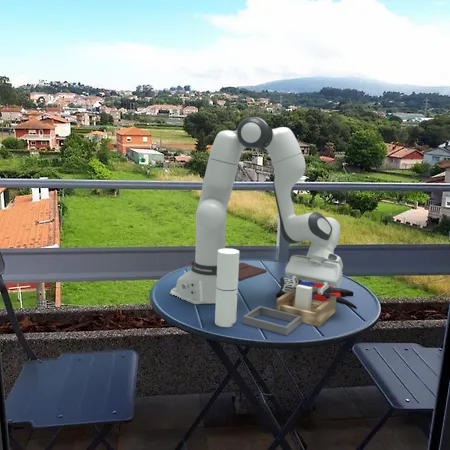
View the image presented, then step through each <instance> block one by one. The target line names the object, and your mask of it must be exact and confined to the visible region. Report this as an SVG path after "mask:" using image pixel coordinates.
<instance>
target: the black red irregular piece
mask: <svg viewBox="0 0 450 450" xmlns="http://www.w3.org/2000/svg"><path fill="white" fill-rule="evenodd" d="M279 282H280V285H281V287H280V289H279V290H278V292H277V293H276V295H275V298H276V299H278V298H279V297H281V296H283V295H284V294H286V293H287V292H289V291H290V290H292V289H293V288H292V285H293V279H292V278H291V277H283V276H282V277H280V281H279ZM296 283H297V284H298V285H304V286H308V287H313V288H312V299H314V300H318V301H322V302H325V301H326V300H328V299H329V298H330V297H331V296H337V297H336V303H339V304H342V305H345V306H348V307H351V308H352V309H355V310H358V309H357V308H358V307H357V305H355V304H354V303H352V302H351V301H349V300H347V299H345V298H346V296H353V297H354V292H353V291H352V290H349V289H345V288H340V287H335V286H330V285H329V287H328V288H327V289H326V290H325V291H324V292H323V295H320V294H318V293H317V291H318V289H319V288H322V287H323V286H324V284H320V283H316V282H311V281H303V280H301V279H298V280H297V281H296Z"/></svg>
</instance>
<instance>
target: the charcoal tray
mask: <svg viewBox="0 0 450 450" xmlns="http://www.w3.org/2000/svg"><path fill="white" fill-rule="evenodd" d="M260 315H263V316H266V317H271V318H274V319H278V320H283V321H286V322H289V323H287V325H283V324H278V323H275V322H270V321H267V320H263V319H259V318H256V317H258V316H260ZM301 321H302V316H298V315H294V314H290V313H286V312H282V311H278V310H276V309H275V308H274V309H273V308H270V307H267V306H262V305H258V306H257V307H256V308H254V309H252V310H251V311H249V312H247V313H246V314H244V315H243V316H242V324H243V325H246V326H250V327H253V328H257V329H260V330H261V329H262V330H264V331H268V332H272V333H276V334H279V335H283V336H288V335H290V334H291V333H292V332H293V331H294V330H295V329H297V328H298V327H299V326H300V325H301V324H302V322H301Z"/></svg>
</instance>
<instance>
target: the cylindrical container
mask: <svg viewBox="0 0 450 450" xmlns="http://www.w3.org/2000/svg"><path fill="white" fill-rule="evenodd" d="M239 263H240V250H238V249H236V248H228V247H225V249H219V250H218V256H217V281H216V303H215V308H214V310H215V311H214V313H215V315H214V324H215V325H216V326H217V327H221V328H230V327H234V326H235V323H236V322H237V312H238V311H237V307H238V290H239V289H238V288H239V281H238V272H239Z"/></svg>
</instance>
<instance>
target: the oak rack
mask: <svg viewBox="0 0 450 450" xmlns="http://www.w3.org/2000/svg"><path fill="white" fill-rule="evenodd" d="M295 297H296V289H292V290H290V291H289V292H287V293H286V294H284V295H283V296H281V297H279V298H276V305H275V310H278V311H282V312H286V313H290V314H294V315H298V316H302V321H301V324H302V323H303V324H307V325H310V326H314V327H318V328H320V327H322V325H323V324H324V323H326V321H328V319H330V318H331V317H332V316H333V315H334V314H335V313H336V307H337V306H336V305H337V302H336V297H337V296H331V297H330V298H329V299H328V300H326V301H323V302H324V303H323V304H322V305H320V306H319V307H318V308H317V309H316V313H315V312H311V311H307V310H303V309H299V308H295V307H293V303H294V298H295Z"/></svg>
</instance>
